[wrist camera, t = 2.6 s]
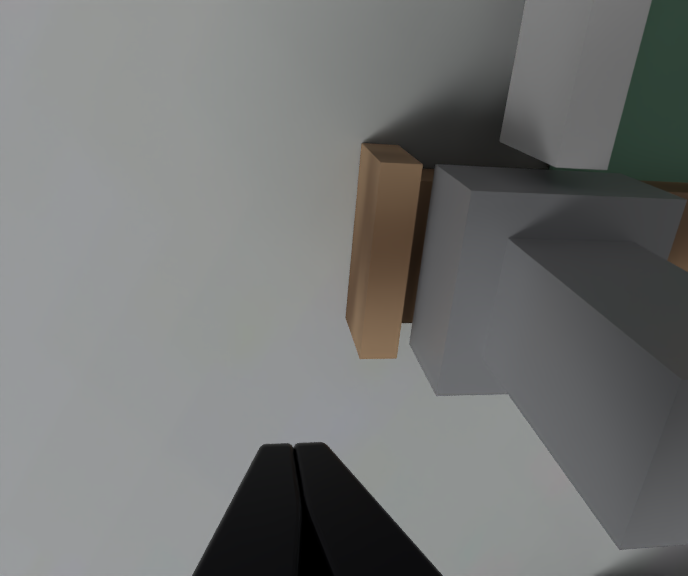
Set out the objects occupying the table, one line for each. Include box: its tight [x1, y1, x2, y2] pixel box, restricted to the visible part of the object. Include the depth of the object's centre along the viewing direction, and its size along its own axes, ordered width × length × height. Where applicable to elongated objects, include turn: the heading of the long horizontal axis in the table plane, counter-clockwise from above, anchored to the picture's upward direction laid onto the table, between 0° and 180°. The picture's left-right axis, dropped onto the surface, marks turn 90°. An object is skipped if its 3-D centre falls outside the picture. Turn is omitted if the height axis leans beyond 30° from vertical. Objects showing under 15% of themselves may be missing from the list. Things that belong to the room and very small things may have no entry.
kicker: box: [409, 0, 688, 550], centre depth 11 cm, size 12×5×9 cm, turn 176°
